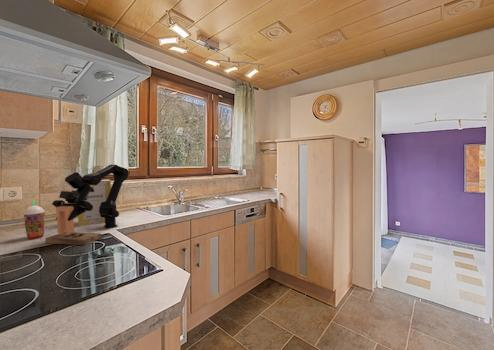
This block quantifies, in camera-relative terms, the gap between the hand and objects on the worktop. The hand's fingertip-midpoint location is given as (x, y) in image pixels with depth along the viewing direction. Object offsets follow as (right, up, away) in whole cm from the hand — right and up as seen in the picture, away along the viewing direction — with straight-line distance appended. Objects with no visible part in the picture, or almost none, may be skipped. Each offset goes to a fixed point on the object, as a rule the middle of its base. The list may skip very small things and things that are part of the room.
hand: (62, 220), depth 109 cm
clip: (0, -6, +2) cm, 7 cm away
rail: (+1, -12, +6) cm, 13 cm away
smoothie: (-24, -12, +11) cm, 29 cm away
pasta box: (-12, -10, +42) cm, 45 cm away
